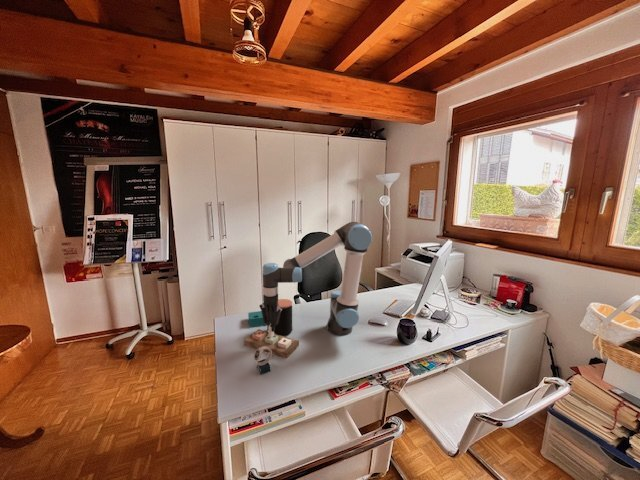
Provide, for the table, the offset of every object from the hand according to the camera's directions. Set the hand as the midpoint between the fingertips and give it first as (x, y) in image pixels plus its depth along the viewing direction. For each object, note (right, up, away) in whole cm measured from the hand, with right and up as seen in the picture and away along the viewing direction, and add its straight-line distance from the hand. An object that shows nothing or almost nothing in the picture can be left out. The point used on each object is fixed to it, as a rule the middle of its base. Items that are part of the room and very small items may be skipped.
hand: (271, 336), depth 137 cm
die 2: (0, -4, +1) cm, 5 cm away
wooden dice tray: (0, -5, +1) cm, 5 cm away
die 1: (-7, -4, +4) cm, 9 cm away
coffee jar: (+4, -3, +14) cm, 15 cm away
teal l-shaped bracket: (-9, -1, +26) cm, 27 cm away
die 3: (+7, -5, -2) cm, 9 cm away
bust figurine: (0, -9, -17) cm, 19 cm away
